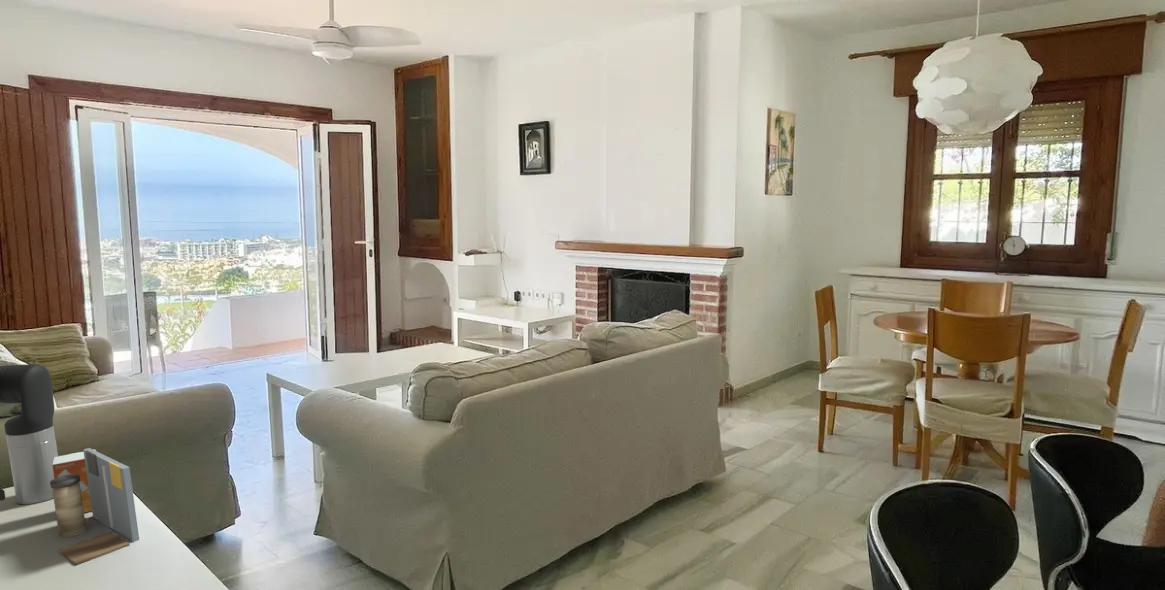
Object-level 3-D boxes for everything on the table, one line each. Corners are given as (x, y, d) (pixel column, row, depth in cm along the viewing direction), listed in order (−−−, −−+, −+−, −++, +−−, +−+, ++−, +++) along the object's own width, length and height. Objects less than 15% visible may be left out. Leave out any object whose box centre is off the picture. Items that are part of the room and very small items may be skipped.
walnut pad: (58, 551, 145) (58, 549, 145) (110, 532, 152) (110, 531, 152) (76, 565, 139) (76, 563, 139) (129, 545, 146) (129, 543, 146)
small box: (59, 519, 160) (51, 464, 159) (61, 509, 166) (53, 456, 164) (102, 509, 165) (94, 456, 163) (102, 500, 170) (95, 448, 168)
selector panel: (91, 517, 161) (81, 448, 159) (98, 514, 162) (89, 446, 160) (131, 542, 148) (121, 468, 145) (139, 539, 149) (129, 465, 147)
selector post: (54, 533, 153) (46, 480, 152) (82, 524, 157) (74, 472, 156) (63, 539, 150) (54, 485, 148) (91, 530, 154) (83, 477, 153)
